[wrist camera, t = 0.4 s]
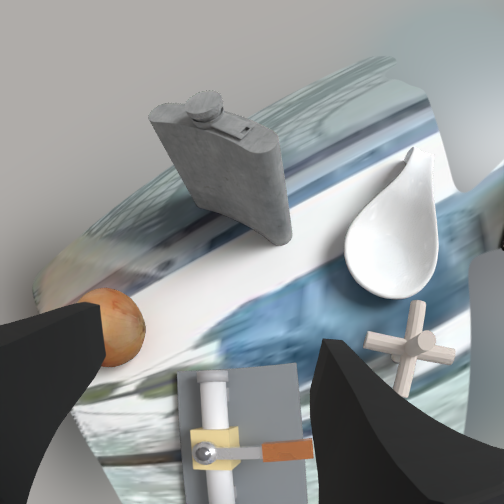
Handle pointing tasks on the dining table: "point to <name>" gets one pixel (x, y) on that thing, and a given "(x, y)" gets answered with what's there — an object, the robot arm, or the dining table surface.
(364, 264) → the spoon rest
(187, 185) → the hip flask
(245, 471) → the board
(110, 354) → the onion
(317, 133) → the dining table surface
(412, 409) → the robot arm
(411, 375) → the pipe connector
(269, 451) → the valve lever
